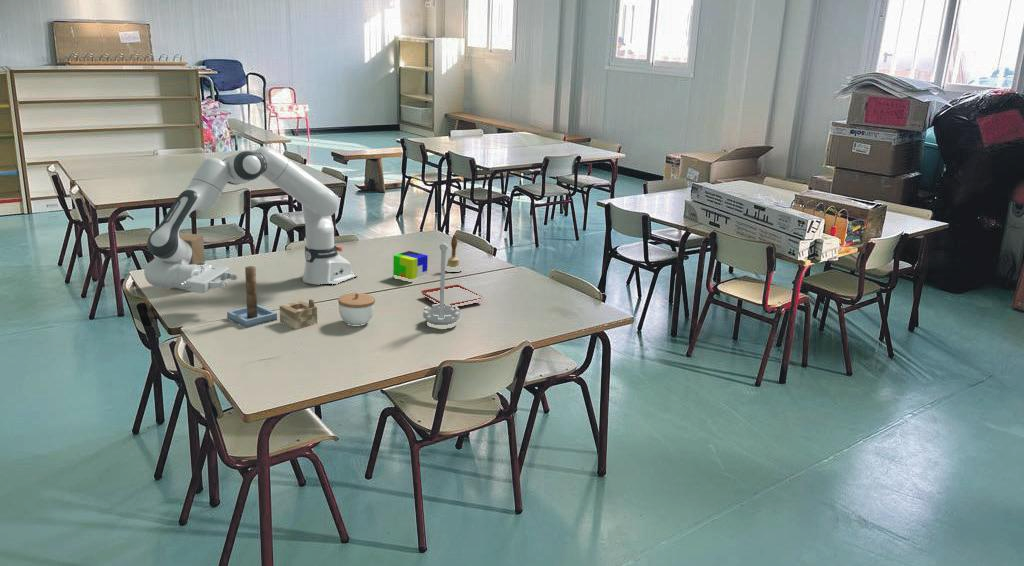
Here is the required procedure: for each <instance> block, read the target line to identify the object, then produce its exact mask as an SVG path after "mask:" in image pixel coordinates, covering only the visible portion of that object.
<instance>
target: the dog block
mask: <svg viewBox="0 0 1024 566" xmlns="http://www.w3.org/2000/svg"><path fill="white" fill-rule="evenodd" d="M279 323H281V324H283V323H284V324H283V325H285V324H286V325H285V326H287V325H288V326H287V327H289V326H290V328H291V327H292V329H294V330H298V329H301V327H302V328H305V327H304V326H306V327H309V326H312V325H311V324H313V325H315V324H314V323H316V324H318V307H317V306H316V305H315V299H313V298H312V299H311V298H310V299H308V302H306V301H303V300H299V301H294V302H290V303H286V304H282V305H279ZM308 325H309V326H308ZM297 328H298V329H297Z"/></svg>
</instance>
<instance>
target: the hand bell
mask: <svg viewBox="0 0 1024 566" xmlns="http://www.w3.org/2000/svg"><path fill="white" fill-rule="evenodd" d="M450 243H451V256H450V257H449V258H448V259H447V263H446V266H450V267H456V266H460V263H459V261H460V260H459V258H458V257H456V256H457V255H456V249H457V247H458V237H457V234H453V235H452V238H451V242H450Z"/></svg>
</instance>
